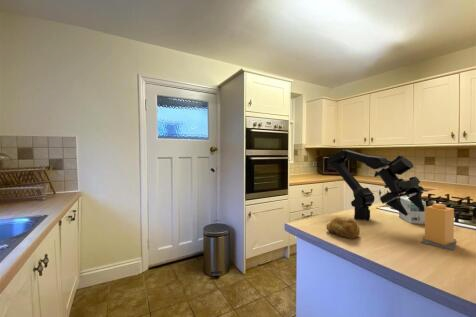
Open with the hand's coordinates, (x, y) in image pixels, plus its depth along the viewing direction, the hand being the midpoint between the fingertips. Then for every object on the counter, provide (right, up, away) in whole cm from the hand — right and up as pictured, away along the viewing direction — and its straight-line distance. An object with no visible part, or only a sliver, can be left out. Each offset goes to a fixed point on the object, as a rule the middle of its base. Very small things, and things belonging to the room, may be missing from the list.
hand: (415, 212), depth 88 cm
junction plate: (+3, -9, -7) cm, 12 cm away
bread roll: (-29, -10, +1) cm, 31 cm away
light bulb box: (+13, -8, +18) cm, 23 cm away
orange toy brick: (+3, -8, -8) cm, 12 cm away
